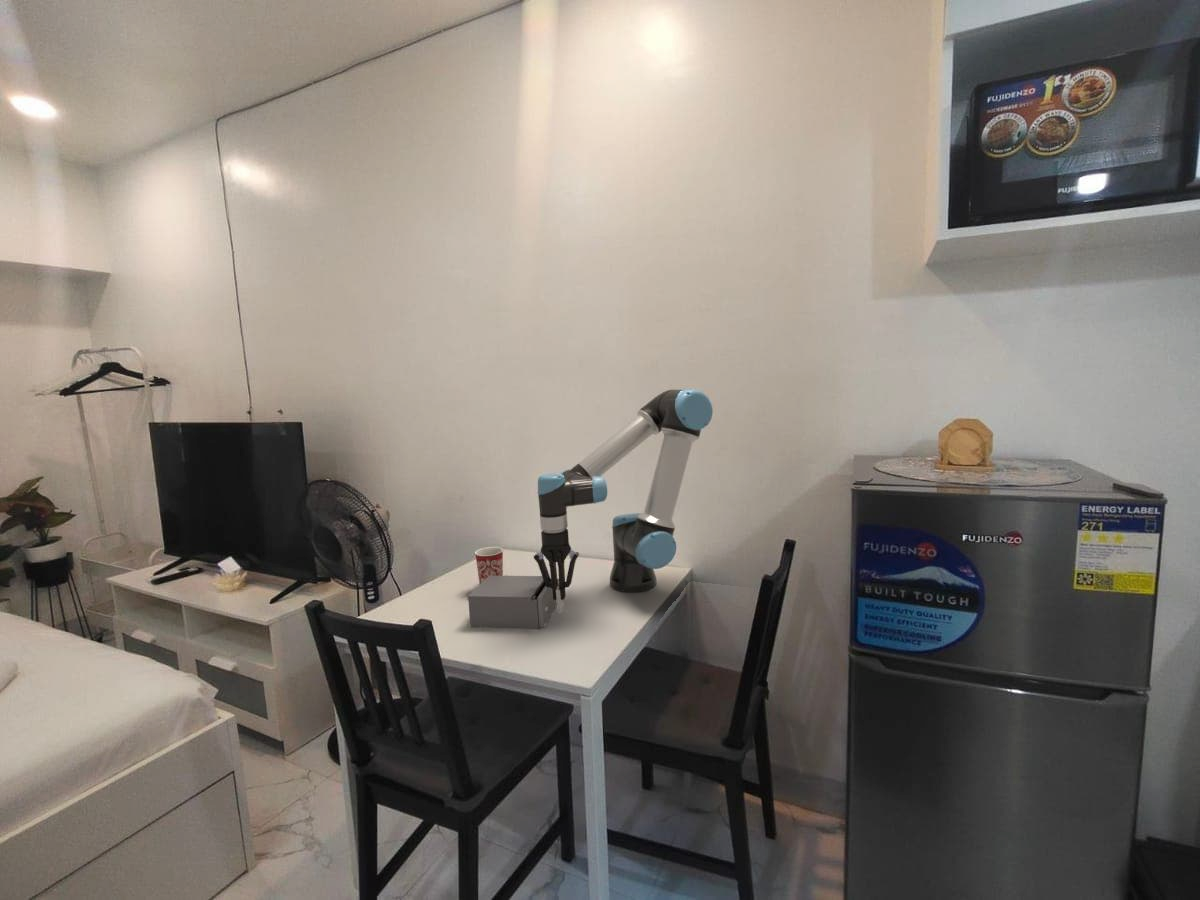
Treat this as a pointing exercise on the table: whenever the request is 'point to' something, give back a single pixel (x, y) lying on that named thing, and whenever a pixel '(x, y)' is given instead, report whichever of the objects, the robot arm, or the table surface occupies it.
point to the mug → (489, 562)
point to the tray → (545, 605)
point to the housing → (506, 602)
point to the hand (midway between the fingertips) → (560, 610)
